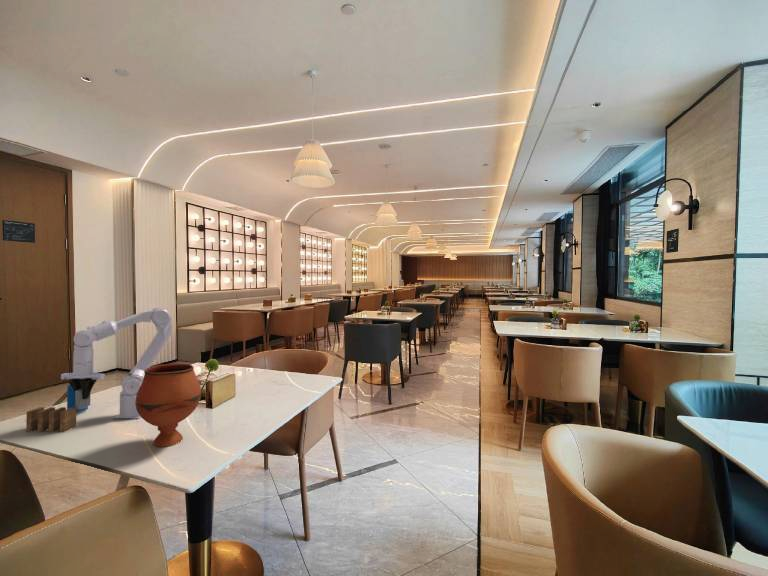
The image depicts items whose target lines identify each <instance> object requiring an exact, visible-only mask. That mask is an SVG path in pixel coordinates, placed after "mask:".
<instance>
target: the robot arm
mask: <svg viewBox="0 0 768 576" xmlns="http://www.w3.org/2000/svg"><path fill="white" fill-rule="evenodd" d="M172 321H173V318H172V316H171V314H170V312H169V311H168V310H167V309H164V308H162V307H155V308H152V309H147V310H144V311H141V312H138V313H135V314H132V315H130V316H127V317H124V318H123V319H120V320H117V321H112V320H103V321H101V323H99V324H96V325H93V326H87V327H86V329H80V330H78V331H77V332H75V334H74V336H73V342H74V345H73V349H74V350H73V359H72V361H73V364H72V365H73V366H72V371H73V372H65V373H61V374H60V379H61V380H70V381H68V385H69V384H70V385H71V387H72V388H73V390H74V392H75V391H76V390H79V389H81V388H82V397H83V399H87V398H89V395H90V396H91V392H92V389H93V387H94V385H95V384H96V382H97V381H103V380H105V379H106V373H102V372H95V371H94V348H93V344H94V342H95V341H96V342H98V341H101V340H103V339H106V338H110V337H112V336H115V335H117V333H118V332H119V330H121V329H123V328H124V329H125V328H127V327H130V326H133V325H136V324H138V323H153V324H154V325H155V329H156V331H157V332H156V334H155V335H154V337H153V338H152V340H151V341H150V343H149V344H148V346H147V347H146V349H145V351H144V352H143V353H142V355H141V356H140V357H139V360H138V361H137V363H136V364H135V366H134V367H133V368H131V370H130V371H129V373H127V374H126V375H124V376H123V377H122V378H121V381H120V385H121V387H122V390H121V391H120V393H119V414H117V415H115V416H114V417H113V419H140V418H141V417H140V415H139V414H138V412H137V410H136V405H135V401H136V395H137V392H138V390H139V388H140V386H141V384H142V382H143V378H144V375H145V373H144V371H145V370H146V369H147V368H149V367H152V366H153V363H154V362H155V360H156V358H157V357H158V356H159V354H160V352H161V351H162V350H163V348H164V346H165V345H166V344H167V342H168V341H169V339H170V337H171V336H172V334H173V326H172V325H173V324H172V323H173V322H172Z"/></svg>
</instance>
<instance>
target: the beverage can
mask: <svg viewBox="0 0 768 576" xmlns="http://www.w3.org/2000/svg"><path fill="white" fill-rule="evenodd" d="M66 389H67V391H66V392H67V393H66V397H67V398H66V410H67V409H69V408H72V407H75V392H74V390H73V388H72V387H71V385H70V384H69V383H68V385H67V388H66ZM87 410H89V406H87V407H85V408H82V409H80V410H76V415H79V414H83V413H85V412H86V411H87Z"/></svg>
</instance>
